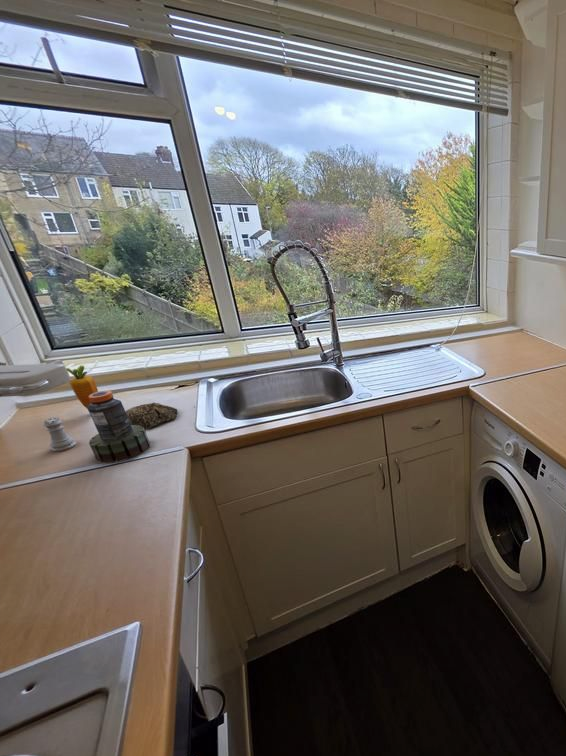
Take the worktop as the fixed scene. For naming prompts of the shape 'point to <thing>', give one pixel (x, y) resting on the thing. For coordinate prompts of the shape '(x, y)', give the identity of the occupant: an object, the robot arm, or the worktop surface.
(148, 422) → the bread roll
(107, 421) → the pill bottle
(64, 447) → the rook chess piece
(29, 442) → the worktop surface
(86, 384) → the carrot
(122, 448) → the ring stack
